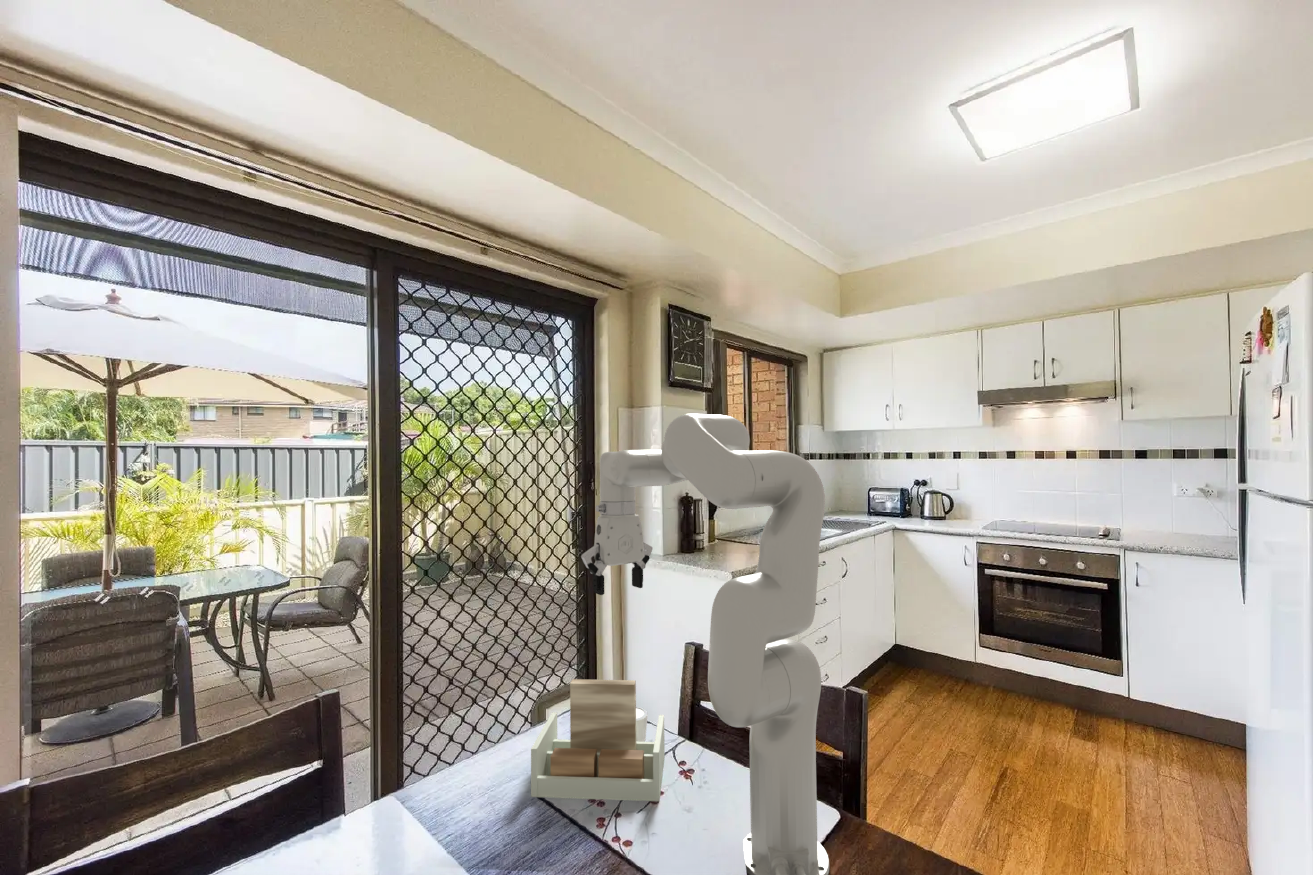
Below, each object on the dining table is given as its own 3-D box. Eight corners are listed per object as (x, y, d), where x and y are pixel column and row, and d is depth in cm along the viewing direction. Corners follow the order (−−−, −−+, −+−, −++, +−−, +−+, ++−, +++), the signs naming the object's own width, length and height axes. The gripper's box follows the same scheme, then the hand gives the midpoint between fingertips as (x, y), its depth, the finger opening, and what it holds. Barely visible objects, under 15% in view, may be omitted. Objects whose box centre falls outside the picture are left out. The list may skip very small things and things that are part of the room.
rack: (659, 810, 95) (658, 752, 95) (531, 805, 96) (530, 748, 97) (664, 765, 109) (664, 714, 109) (552, 761, 110) (552, 712, 111)
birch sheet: (635, 773, 103) (634, 684, 104) (570, 771, 104) (570, 683, 104) (636, 767, 105) (635, 680, 106) (573, 765, 106) (572, 679, 106)
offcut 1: (594, 793, 97) (593, 757, 97) (550, 791, 98) (550, 756, 98) (597, 783, 100) (596, 748, 100) (555, 782, 101) (554, 747, 101)
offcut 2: (642, 795, 96) (642, 759, 97) (598, 793, 97) (598, 758, 97) (644, 785, 99) (643, 750, 100) (601, 783, 100) (601, 749, 100)
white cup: (609, 753, 113) (609, 718, 113) (621, 737, 119) (621, 704, 120) (641, 758, 111) (641, 722, 111) (652, 742, 117) (652, 707, 118)
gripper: (591, 513, 112) (592, 600, 111) (660, 508, 122) (661, 587, 122) (573, 510, 118) (573, 593, 117) (640, 506, 128) (641, 581, 128)
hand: (618, 590), depth 120 cm, fingers open, 9 cm apart
